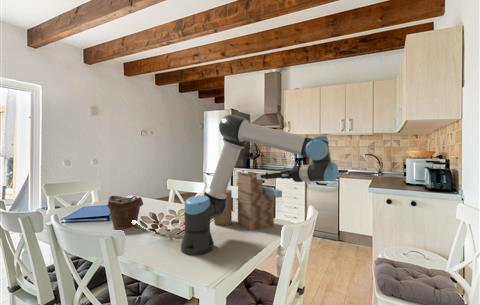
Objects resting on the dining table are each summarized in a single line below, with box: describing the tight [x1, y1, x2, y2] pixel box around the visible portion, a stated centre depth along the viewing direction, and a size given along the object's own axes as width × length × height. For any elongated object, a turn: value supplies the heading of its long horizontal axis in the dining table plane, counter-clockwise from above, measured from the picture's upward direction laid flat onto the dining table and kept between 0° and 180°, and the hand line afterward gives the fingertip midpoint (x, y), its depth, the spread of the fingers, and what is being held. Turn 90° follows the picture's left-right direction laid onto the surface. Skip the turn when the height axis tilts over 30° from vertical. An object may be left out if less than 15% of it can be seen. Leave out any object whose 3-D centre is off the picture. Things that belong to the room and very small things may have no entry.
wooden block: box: [213, 189, 233, 226], centre depth 153 cm, size 10×10×20 cm
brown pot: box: [107, 195, 144, 229], centre depth 149 cm, size 18×20×18 cm
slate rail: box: [263, 185, 283, 198], centre depth 147 cm, size 4×26×4 cm, turn 27°
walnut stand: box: [237, 171, 275, 231], centre depth 151 cm, size 16×16×32 cm
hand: (265, 175), depth 127 cm, fingers open, 13 cm apart
